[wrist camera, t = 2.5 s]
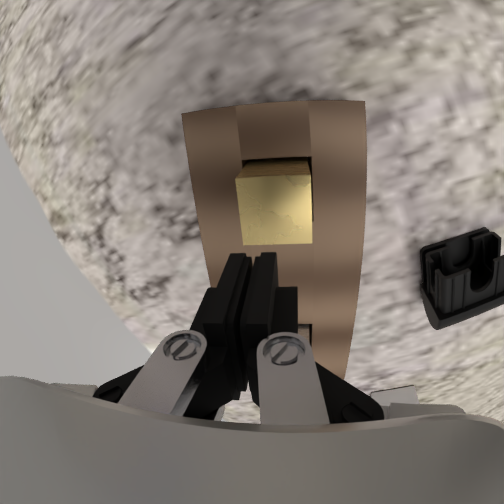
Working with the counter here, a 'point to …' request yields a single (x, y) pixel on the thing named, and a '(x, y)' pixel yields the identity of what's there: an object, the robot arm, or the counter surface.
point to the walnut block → (323, 204)
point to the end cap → (462, 277)
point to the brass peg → (275, 201)
